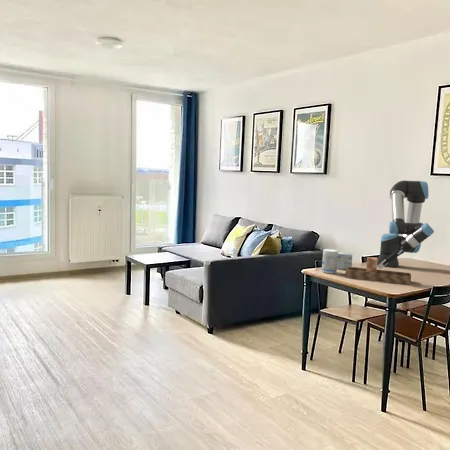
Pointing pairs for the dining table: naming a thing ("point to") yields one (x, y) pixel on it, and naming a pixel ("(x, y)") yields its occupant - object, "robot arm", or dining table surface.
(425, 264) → the dining table surface
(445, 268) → the dining table surface
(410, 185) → the robot arm
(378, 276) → the box
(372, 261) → the block
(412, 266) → the dining table surface
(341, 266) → the light bulb box
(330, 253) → the supplement tub
